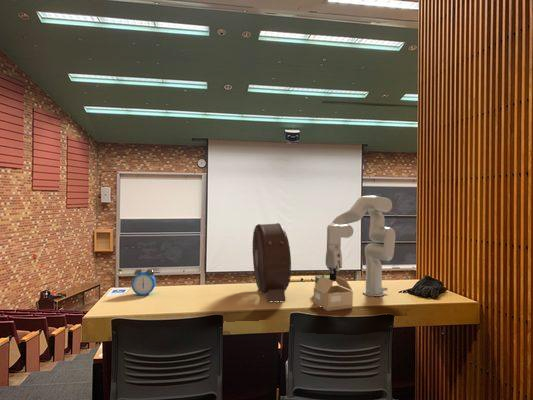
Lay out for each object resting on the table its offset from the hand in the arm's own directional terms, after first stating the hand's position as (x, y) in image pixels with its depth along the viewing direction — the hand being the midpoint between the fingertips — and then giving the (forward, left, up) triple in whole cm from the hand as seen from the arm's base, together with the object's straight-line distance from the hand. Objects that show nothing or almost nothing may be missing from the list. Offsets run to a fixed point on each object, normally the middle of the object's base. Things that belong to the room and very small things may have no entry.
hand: (332, 280), depth 192 cm
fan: (+24, -32, -14) cm, 42 cm away
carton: (0, 0, -14) cm, 14 cm away
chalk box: (-6, -19, -14) cm, 25 cm away
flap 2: (-6, 0, -2) cm, 6 cm away
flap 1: (+6, 0, -2) cm, 6 cm away
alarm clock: (+95, -57, -14) cm, 112 cm away
